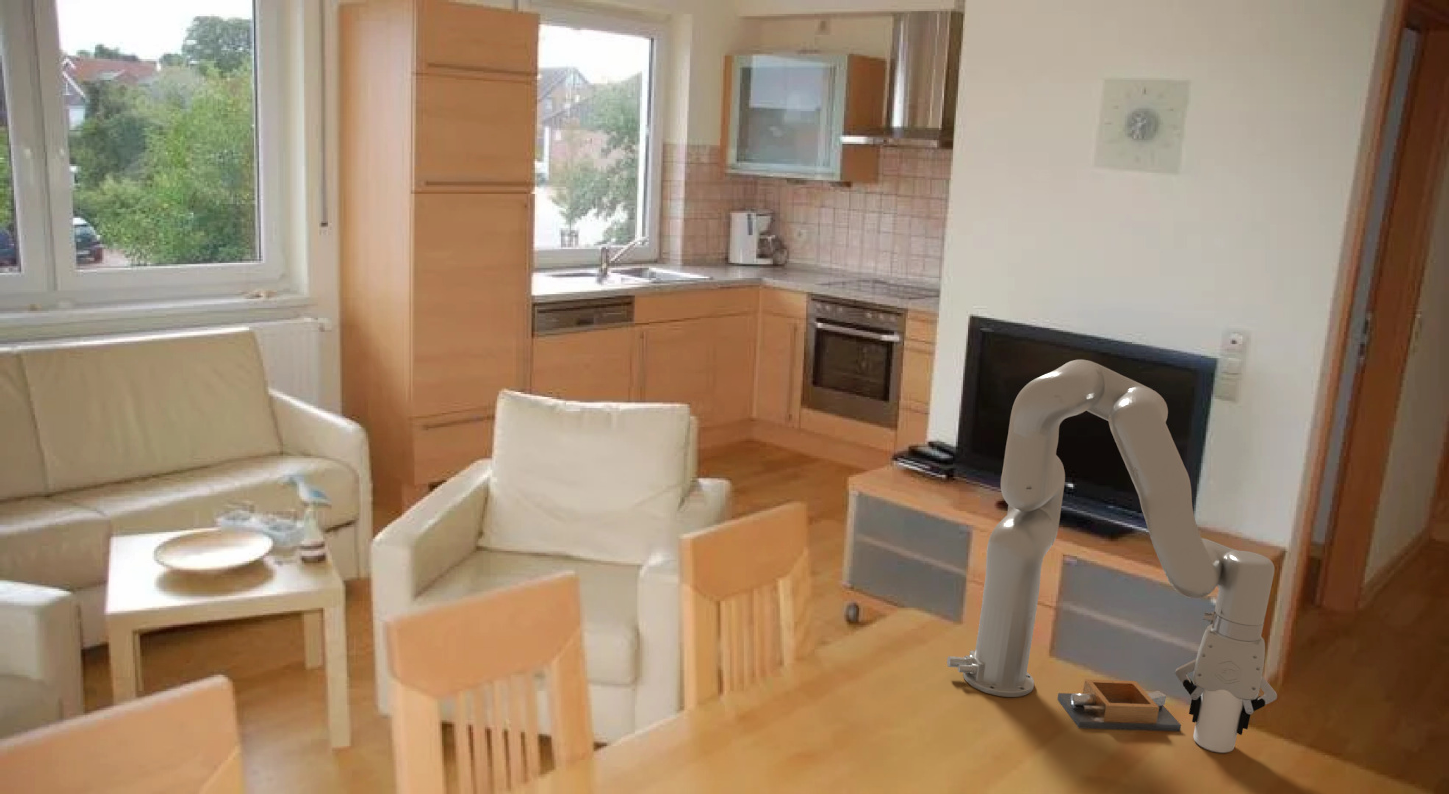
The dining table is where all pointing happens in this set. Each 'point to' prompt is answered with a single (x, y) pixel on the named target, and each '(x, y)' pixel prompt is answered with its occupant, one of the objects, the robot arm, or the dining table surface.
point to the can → (1218, 721)
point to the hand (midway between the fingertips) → (1217, 724)
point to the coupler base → (1118, 707)
